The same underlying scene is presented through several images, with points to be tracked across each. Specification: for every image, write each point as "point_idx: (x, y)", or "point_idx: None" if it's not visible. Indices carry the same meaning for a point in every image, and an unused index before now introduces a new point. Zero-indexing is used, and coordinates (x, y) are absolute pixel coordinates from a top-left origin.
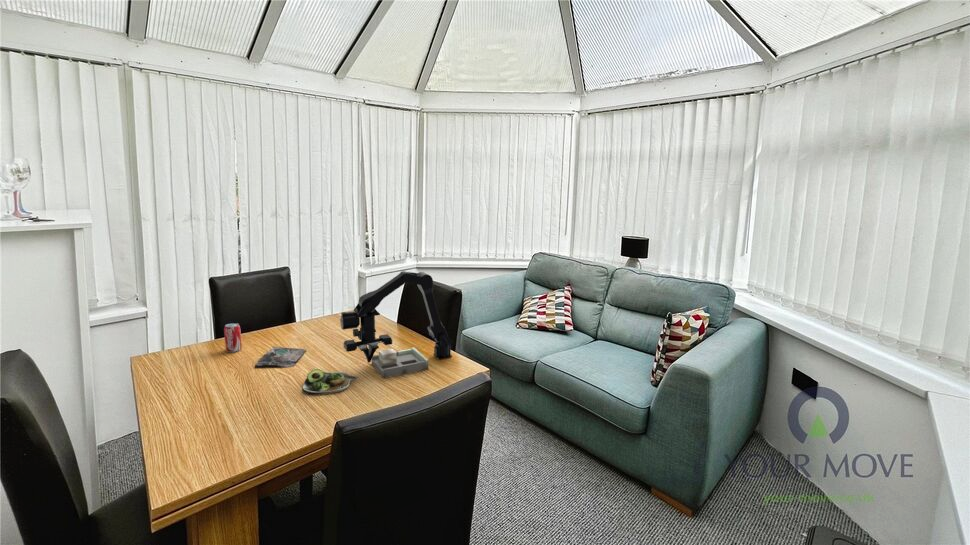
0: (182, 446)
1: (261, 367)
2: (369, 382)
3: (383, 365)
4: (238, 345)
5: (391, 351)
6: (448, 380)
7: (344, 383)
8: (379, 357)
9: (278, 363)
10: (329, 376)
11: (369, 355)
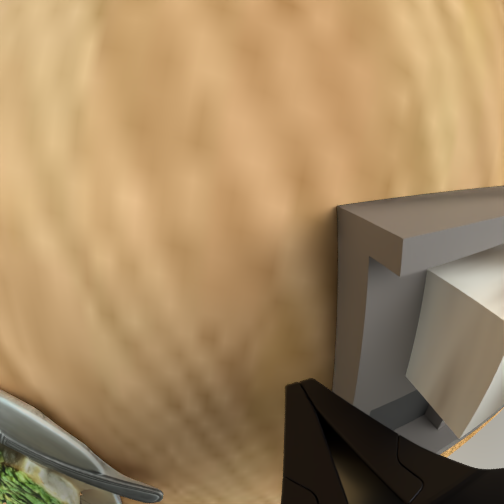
0: None
1: None
2: (232, 490)
3: (394, 398)
4: None
5: None
6: (477, 430)
7: (91, 491)
8: (448, 302)
9: None
10: (2, 492)
11: (343, 473)
